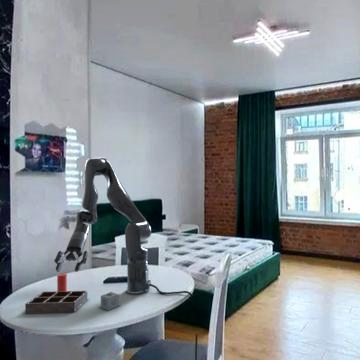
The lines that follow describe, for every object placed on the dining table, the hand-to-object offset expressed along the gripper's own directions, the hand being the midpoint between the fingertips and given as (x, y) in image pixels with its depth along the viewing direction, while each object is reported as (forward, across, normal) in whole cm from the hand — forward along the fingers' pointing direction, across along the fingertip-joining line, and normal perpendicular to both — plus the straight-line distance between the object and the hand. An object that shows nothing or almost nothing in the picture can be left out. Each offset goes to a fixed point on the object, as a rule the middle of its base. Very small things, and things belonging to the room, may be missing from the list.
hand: (66, 271), depth 149 cm
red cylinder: (+10, 0, +3) cm, 10 cm away
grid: (+20, +5, -7) cm, 21 cm away
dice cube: (+21, +27, -8) cm, 35 cm away
